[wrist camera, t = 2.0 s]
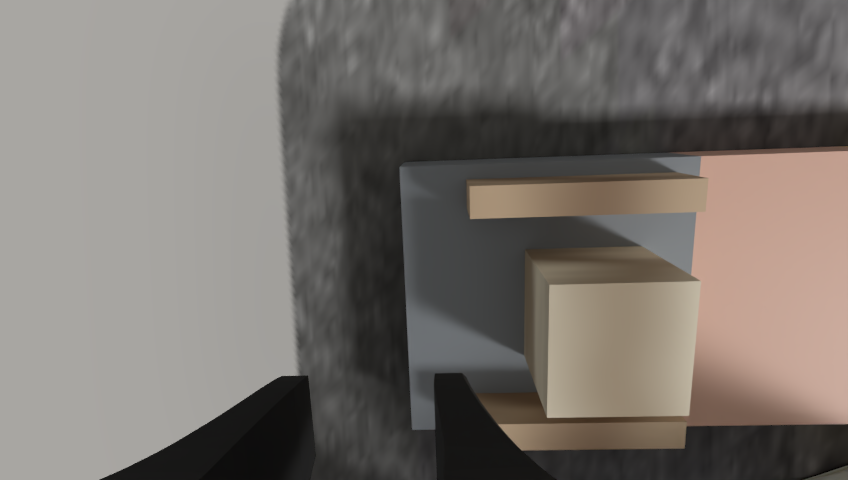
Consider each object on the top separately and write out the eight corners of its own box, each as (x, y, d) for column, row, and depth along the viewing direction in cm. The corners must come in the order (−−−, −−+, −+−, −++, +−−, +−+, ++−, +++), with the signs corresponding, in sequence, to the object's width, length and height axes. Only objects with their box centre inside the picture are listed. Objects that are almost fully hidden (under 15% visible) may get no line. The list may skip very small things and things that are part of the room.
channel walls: (470, 417, 19) (474, 450, 17) (466, 179, 17) (469, 186, 15) (658, 414, 18) (684, 448, 16) (677, 172, 16) (708, 178, 15)
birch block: (524, 355, 18) (546, 417, 14) (525, 249, 17) (549, 284, 13) (635, 353, 18) (689, 415, 14) (641, 246, 17) (701, 281, 13)
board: (415, 395, 21) (411, 429, 19) (404, 162, 19) (399, 167, 17) (958, 386, 20) (1028, 421, 18) (1012, 139, 18) (1100, 142, 16)
